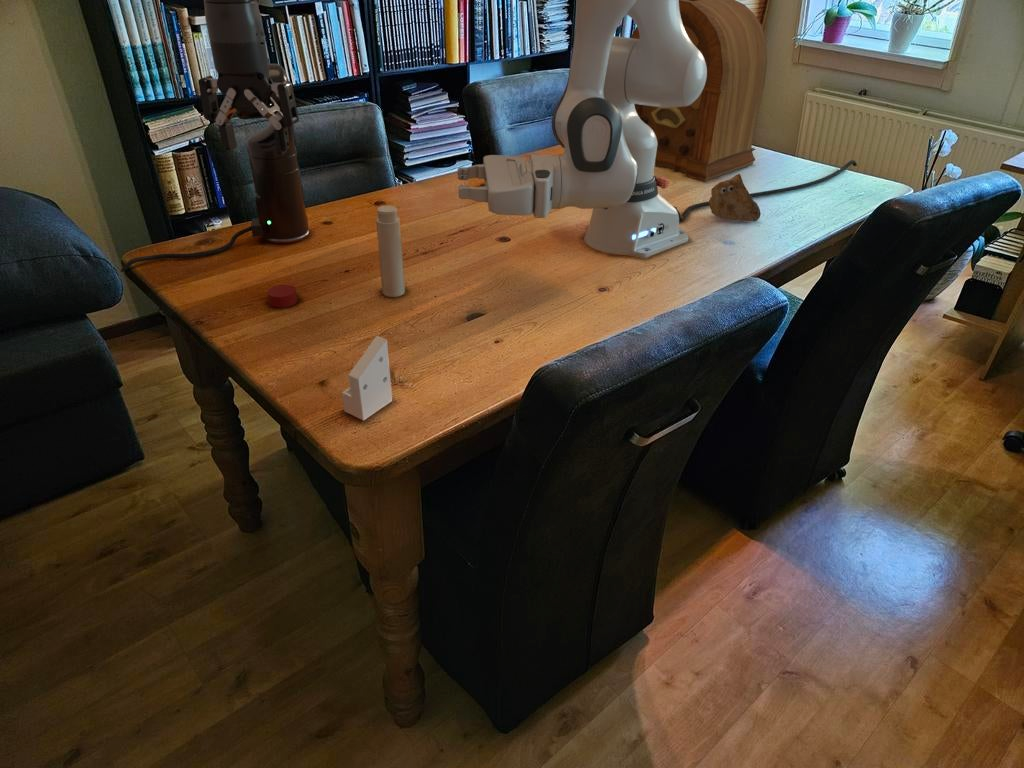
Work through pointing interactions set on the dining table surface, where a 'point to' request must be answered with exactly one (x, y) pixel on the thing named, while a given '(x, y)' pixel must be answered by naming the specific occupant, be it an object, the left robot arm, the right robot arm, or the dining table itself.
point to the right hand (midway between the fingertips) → (458, 182)
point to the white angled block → (369, 382)
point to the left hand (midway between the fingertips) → (257, 151)
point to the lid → (282, 296)
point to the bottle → (390, 251)
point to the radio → (714, 93)
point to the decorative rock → (733, 201)
